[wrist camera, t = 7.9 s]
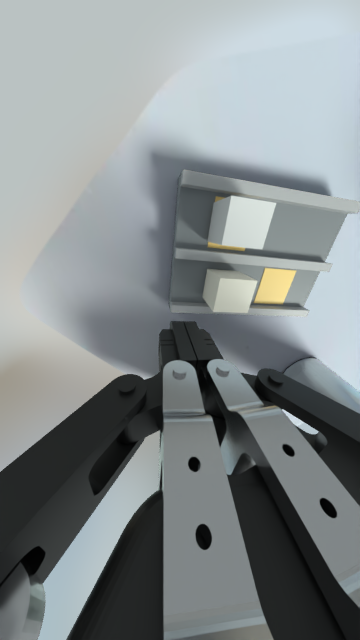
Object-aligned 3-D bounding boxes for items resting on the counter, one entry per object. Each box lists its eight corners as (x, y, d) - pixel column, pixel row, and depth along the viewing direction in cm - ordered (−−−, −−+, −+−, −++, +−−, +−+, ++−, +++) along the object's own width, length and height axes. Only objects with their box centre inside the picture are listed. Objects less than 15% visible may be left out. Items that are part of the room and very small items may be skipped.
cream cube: (238, 271, 21) (257, 280, 17) (231, 298, 23) (247, 313, 19) (207, 268, 20) (220, 278, 17) (202, 297, 22) (213, 311, 18)
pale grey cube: (249, 208, 18) (276, 202, 14) (240, 245, 20) (262, 249, 16) (213, 202, 17) (231, 195, 13) (207, 241, 19) (221, 245, 15)
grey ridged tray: (335, 205, 21) (363, 202, 19) (290, 307, 28) (306, 316, 25) (178, 178, 18) (183, 169, 15) (168, 302, 24) (170, 312, 22)
